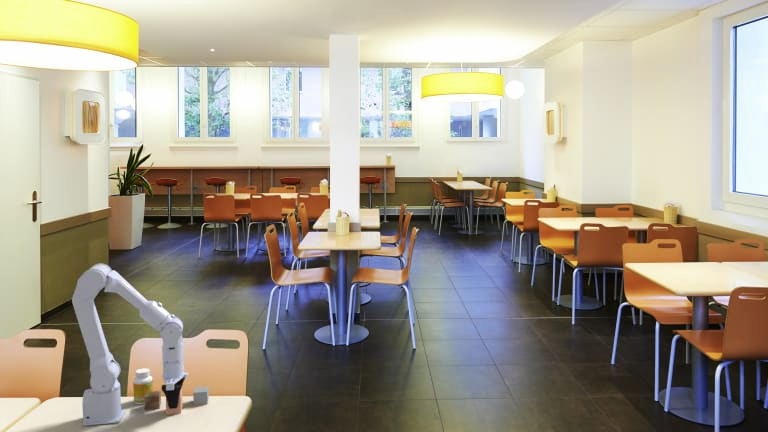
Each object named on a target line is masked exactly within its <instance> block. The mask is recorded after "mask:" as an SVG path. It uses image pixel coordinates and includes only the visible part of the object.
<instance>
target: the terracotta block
mask: <svg viewBox="0 0 768 432" xmlns="http://www.w3.org/2000/svg"><path fill="white" fill-rule="evenodd" d="M183 404H184V403H183V387H182V388H181V390H180V393H179V400H178V406H177V408H173V409H169V406H168V402H167V399H166V398H165V413H166V416H167V415H177V414H181V413H182V411H183V408H184V407H183Z"/></svg>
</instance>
